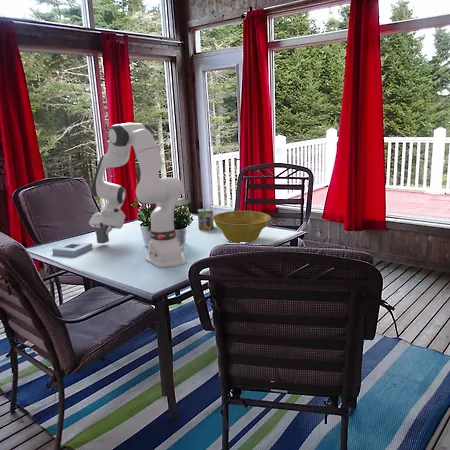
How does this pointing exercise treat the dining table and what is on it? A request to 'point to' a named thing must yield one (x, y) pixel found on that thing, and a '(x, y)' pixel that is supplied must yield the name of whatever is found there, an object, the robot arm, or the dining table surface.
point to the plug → (101, 234)
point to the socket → (72, 249)
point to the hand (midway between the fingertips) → (101, 233)
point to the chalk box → (205, 218)
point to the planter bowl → (241, 225)
